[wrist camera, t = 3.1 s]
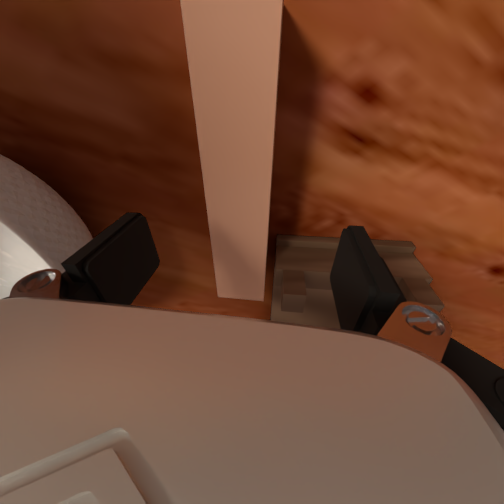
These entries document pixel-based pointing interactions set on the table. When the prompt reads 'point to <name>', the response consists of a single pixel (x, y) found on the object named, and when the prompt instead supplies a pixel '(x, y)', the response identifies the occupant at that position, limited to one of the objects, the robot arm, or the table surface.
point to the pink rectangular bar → (236, 130)
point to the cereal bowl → (33, 226)
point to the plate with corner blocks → (318, 278)
